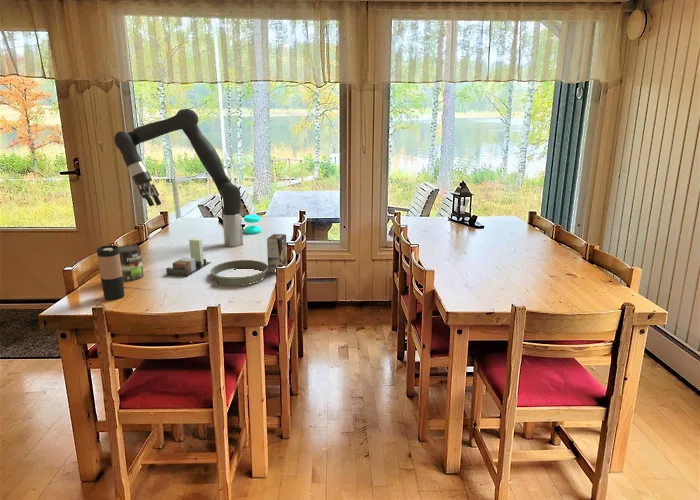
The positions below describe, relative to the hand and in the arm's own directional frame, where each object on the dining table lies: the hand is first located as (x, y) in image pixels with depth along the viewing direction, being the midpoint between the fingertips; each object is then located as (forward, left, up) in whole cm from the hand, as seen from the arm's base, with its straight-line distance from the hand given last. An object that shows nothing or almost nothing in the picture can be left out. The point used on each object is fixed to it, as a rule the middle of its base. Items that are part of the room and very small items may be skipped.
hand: (155, 205), depth 224 cm
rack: (-10, +21, -27) cm, 36 cm away
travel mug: (+22, +41, -28) cm, 54 cm away
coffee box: (-46, +38, -28) cm, 66 cm away
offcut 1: (-6, +26, -26) cm, 38 cm away
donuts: (-55, -36, -28) cm, 71 cm away
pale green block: (-14, +16, -26) cm, 34 cm away
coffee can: (+15, +22, -28) cm, 38 cm away
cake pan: (-28, +40, -28) cm, 56 cm away
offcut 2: (-9, +23, -26) cm, 36 cm away
